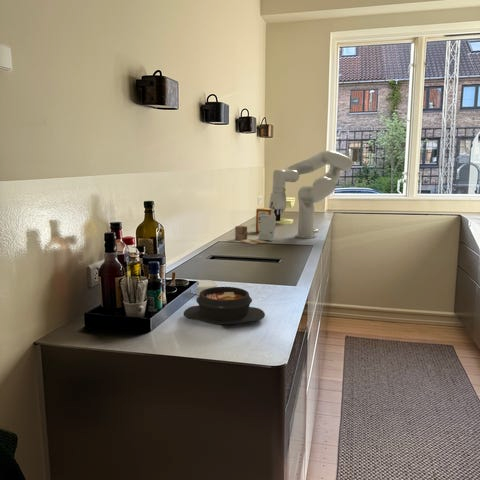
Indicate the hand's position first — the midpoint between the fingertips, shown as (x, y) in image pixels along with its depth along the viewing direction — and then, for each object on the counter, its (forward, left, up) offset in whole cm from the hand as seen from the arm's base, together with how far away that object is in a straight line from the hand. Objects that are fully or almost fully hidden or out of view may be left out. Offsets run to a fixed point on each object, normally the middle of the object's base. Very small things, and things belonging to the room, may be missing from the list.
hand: (277, 220), depth 281 cm
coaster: (+99, +68, -11) cm, 120 cm away
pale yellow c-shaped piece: (-51, -51, -11) cm, 73 cm away
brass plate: (+19, 0, -11) cm, 22 cm away
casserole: (+110, +96, -11) cm, 146 cm away
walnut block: (+21, -9, -11) cm, 25 cm away
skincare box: (+9, 0, -11) cm, 14 cm away
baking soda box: (-8, -22, -11) cm, 26 cm away
